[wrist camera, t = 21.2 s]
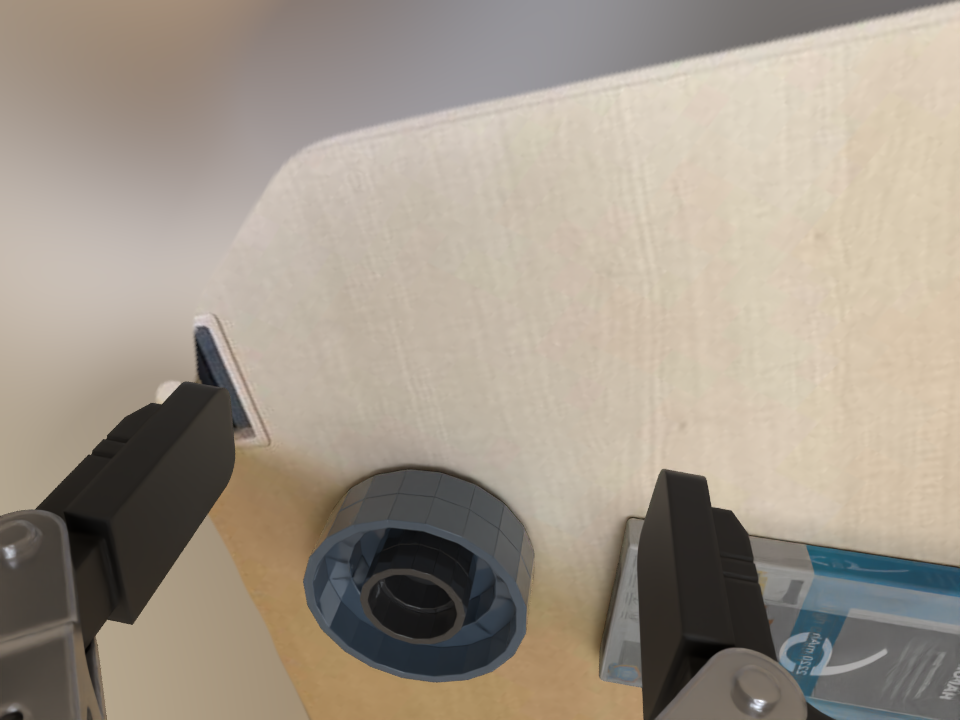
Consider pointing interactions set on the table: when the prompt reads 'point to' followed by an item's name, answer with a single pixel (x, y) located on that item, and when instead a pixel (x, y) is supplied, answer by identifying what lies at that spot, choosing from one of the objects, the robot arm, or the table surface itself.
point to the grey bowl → (442, 513)
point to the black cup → (418, 586)
